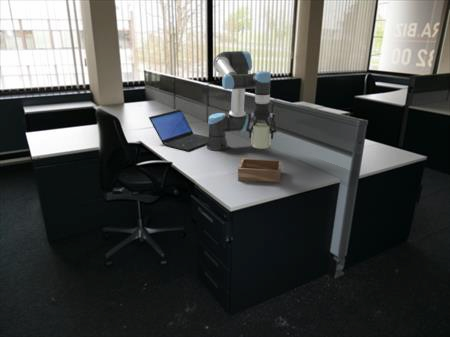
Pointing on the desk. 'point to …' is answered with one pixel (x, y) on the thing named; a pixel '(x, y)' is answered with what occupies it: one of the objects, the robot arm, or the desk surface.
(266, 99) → the robot arm
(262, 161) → the walled box
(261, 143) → the can
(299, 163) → the desk surface
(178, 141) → the laptop
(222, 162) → the desk surface
